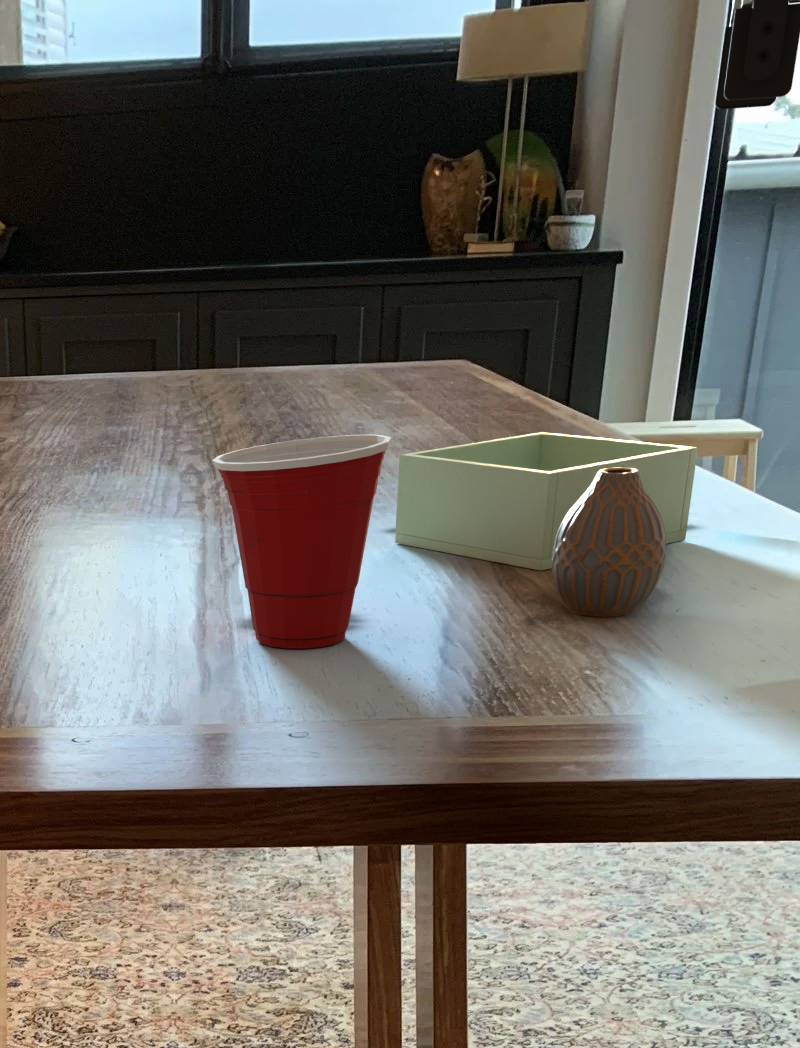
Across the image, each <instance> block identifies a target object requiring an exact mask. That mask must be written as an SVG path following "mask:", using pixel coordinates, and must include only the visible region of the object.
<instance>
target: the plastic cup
mask: <svg viewBox="0 0 800 1048" xmlns="http://www.w3.org/2000/svg"><path fill="white" fill-rule="evenodd" d="M391 442H392V437H391V436H387V435H383V434H347V435H333V436H332V435H331V436H320V437H312V438H304V439H303V438H302V439H293V440H287V441H281V442H273V443H268V444H267V443H266V444H261V445H256V446H251V447H247V448H242V449H237V450H233V451H230V452H226V453H223V454H220V455H217V456H215V458H213V459H212V460H211V462H212V464H213V467H214V468H216V469H218V473H220V477H221V479H222V480H223V484H224V489H225V490H226V491H227V496H228V497H227V498H228V501H229V505H230V506H231V508H232V509H231V511H232V515H233V521H234V522H233V523H234V528H235V534H236V540H237V546H238V551H239V557H240V564H241V568H242V569H241V570H242V575H243V581H244V587H245V589H246V590H247V595H248V605H249V609H250V610H249V611H250V616H251V617H250V618H251V623H252V630H254V633H255V639H256V641H258V643H259V644H261V645H265V646H268V647H272V648H273V647H274V648H281V649H301V650H302V649H315V648H322V647H327V646H332V645H336V644H338V643H340V642H342V641H344V639H345V636H346V633H347V630H348V628H349V626H350V619H351V615H352V609H353V604H354V598H355V593H356V588H357V586H358V584H359V579H360V574H361V570H362V563H363V559H364V554H365V549H366V542H367V537H368V531H369V527H370V526H369V525H370V520H371V515H372V510H373V505H374V504H373V503H374V500H375V499H374V498H375V495H376V494H377V488H378V484H379V483H378V482H379V476H380V475H381V470H382V464H383V461H384V458H385V454H386V451H388V449H389V448H390V446H391Z"/></svg>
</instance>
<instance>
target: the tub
mask: <svg viewBox="0 0 800 1048" xmlns="http://www.w3.org/2000/svg"><path fill="white" fill-rule="evenodd" d="M698 451H699V448H698V447H697V446H688V445H679V444H678V445H676V444H669V443H668V444H667V443H656V442H646V441H636V440H627V439H616V438H605V437H597V436H596V437H595V436H587V435H586V436H585V435H574V434H565V433H555V432H554V433H553V432H544V431H539V432H533V433H526V434H521V435H515V436H509V437H502V438H501V437H500V438H495V439H490V440H482V441H478V442H471V443H470V442H469V443H465V444H458V445H452V446H447V447H440V448H433V449H427V450H420V451H414V452H410V453H409V452H408V453H403V454H399V456H398V475H397V491H396V492H397V496H396V514H395V531H394V532H395V535H394V543H395V544H399V545H404V546H409V547H415V548H419V549H424V550H425V549H426V550H430V551H435V552H441V553H446V554H452V555H456V556H462V557H466V558H467V557H468V558H472V559H476V560H482V561H488V562H493V563H499V564H504V565H508V566H513V567H519V568H525V569H530V570H535V571H538V572H539V571H546V570H550V569H551V570H552V554H553V546H554V542H555V539H556V536H557V533H558V530H559V528H560V525H561V523H562V521H563V519H564V517H565V516H566V514H567V513H568V512H569V510H570V509H571V508H572V507H573V505H574V504H575V503H576V502H577V501H578V500H579V498H580V497H581V496H582V495H583V494H584V493H585V492H586V490H587V489H588V488H589V487H590V485H591V483H592V482H593V480H594V478H595V476H596V474H597V472H598V471H599V470H601V469H605V468H633V469H636V470H638V472H639V475H640V479H641V482H642V484H643V487H644V488H645V490H646V492H647V493H648V495H649V496H650V498H651V499H652V501H653V502H654V504H655V505H656V507H657V509H658V510H659V512H660V514H661V517H662V519H663V523H664V527H665V533H666V545H667V544H672V543H677V542H682V541H685V540H686V538H687V529H688V522H689V516H690V508H691V501H692V493H693V487H694V479H695V473H696V472H695V471H696V466H697V465H696V464H697V459H698V458H697V457H698Z"/></svg>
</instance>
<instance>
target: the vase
mask: <svg viewBox="0 0 800 1048" xmlns="http://www.w3.org/2000/svg"><path fill="white" fill-rule="evenodd" d="M666 555H667V544H666V533H665V527H664V523H663V519H662V517H661V514H660V512H659V510H658V509H657V507H656V505H655V504H654V502H653V501H652V499H651V498H650V496H649V495H648V493H647V492H646V490H645V488H644V487H643V484H642V482H641V479H640V475H639V472H638V470H636V469H633V468H605V469H601V470H599V471H598V472H597V474H596V476H595V478H594V480H593V482H592V483H591V485H590V487H589V488H588V489H587V490H586V492H585V493H584V494H583V495H582V496H581V497H580V498H579V500H578V501H577V502H576V503H575V504H574V505H573V507H572V508H571V509H570V510H569V512H568V513H567V514H566V516H565V517H564V519H563V521H562V523H561V525H560V528H559V530H558V533H557V536H556V539H555V542H554V546H553V554H552V568H551V573H552V580H553V585H554V587H555V591H556V594H557V596H559V598H560V600H561V602H562V603H563V604H564V605H565V606H566V607H567V608H568V609H569V610H570V611H571V612H572V613H574V614H577V615H582V616H586V617H598V618H599V617H600V618H601V617H602V618H611V617H621V616H626V615H629V614H632V613H635V611H637V609H639V608H640V607H641V606H642V605H643V604H644V603H646V601H647V600H648V599H649V598H650V597H651V596H652V594H653V593H654V591H655V590H656V588H657V585H658V584H659V581H660V579H661V576H662V574H663V570H664V566H665V563H666V562H665V561H666Z"/></svg>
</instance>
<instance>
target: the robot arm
mask: <svg viewBox="0 0 800 1048" xmlns="http://www.w3.org/2000/svg"><path fill="white" fill-rule="evenodd" d="M799 43H800V0H732V6H731V12H730V19H729V26H725V28H724V34H723V41H722V49H721V54H720V55H721V56H720V62H719V71H718V78H717V84H716V93H715V100H714V105H715V107H716V109H718V110H732V109H733V110H734V109H746V108H747V109H749V108H761V107H769V106H771V105H773V104H774V103H775V102H776V100H777V98H782V97H785V96H787V95H788V94H789V93H790V92H791V90H792V88H793V82H794V81H793V80H794V75H795V69H796V62H797V56H798V51H799V49H798V48H799Z"/></svg>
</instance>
